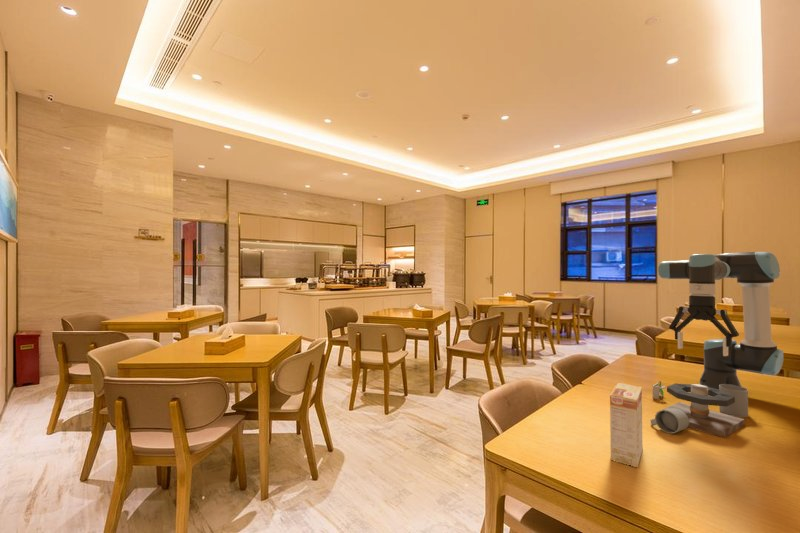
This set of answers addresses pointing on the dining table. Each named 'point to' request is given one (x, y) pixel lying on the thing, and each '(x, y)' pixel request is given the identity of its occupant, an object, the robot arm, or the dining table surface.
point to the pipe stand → (708, 416)
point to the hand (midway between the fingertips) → (702, 352)
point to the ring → (714, 397)
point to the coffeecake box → (626, 424)
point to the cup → (741, 400)
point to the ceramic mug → (671, 420)
